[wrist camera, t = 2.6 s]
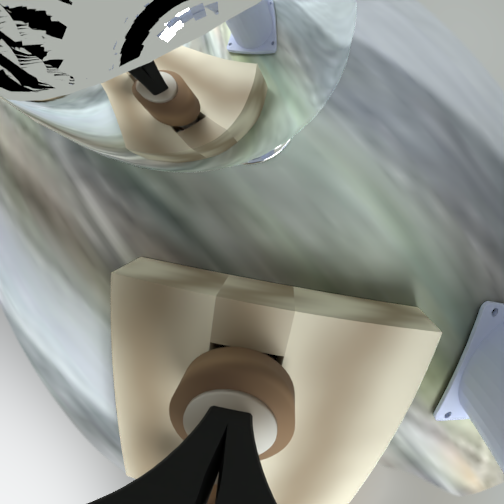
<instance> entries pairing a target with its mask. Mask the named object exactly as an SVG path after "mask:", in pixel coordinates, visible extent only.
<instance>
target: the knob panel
mask: <svg viewBox="0 0 504 504" xmlns="http://www.w3.org/2000/svg"><path fill="white" fill-rule="evenodd" d="M441 335H442V331H441V330H440V329H439V328H438V327H437V326H436V325H435V324H434V323H433V322H432V321H431V320H430V319H429V318H428V317H427V316H426V315H425V314H424V313H423V312H422V311H421V310H420V309H419V308H418V307H414V306H407V305H401V304H394V303H388V302H382V301H376V300H370V299H363V298H357V297H351V296H346V295H340V294H334V293H328V292H322V291H316V290H311V289H305V288H299V287H294V286H288V285H283V284H277V283H272V282H266V281H261V280H256V279H250V278H245V277H240V276H235V275H229V274H224V273H219V272H214V271H209V270H204V269H199V268H194V267H189V266H184V265H179V264H174V263H169V262H164V261H159V260H155V259H150V258H145V257H139V258H138V259H136V260H134V261H132V262H130V263H128V264H126V265H124V266H123V267H121V268H119V269H117V270H115V271H113V272H111V344H112V364H113V378H114V390H115V400H116V410H117V418H118V426H119V433H120V440H121V447H122V453H123V459H124V464H125V470H126V475H127V476H130V477H132V478H135V479H137V478H139V477H141V476H142V475H143V474H145V473H146V472H148V471H149V470H151V469H152V468H153V467H155V466H156V465H157V464H158V463H160V462H161V461H162V460H163V459H164V458H166V457H167V456H168V455H169V454H170V453H171V452H172V451H173V450H174V449H175V448H177V447H178V446H179V445H180V444H181V443H182V442H183V441H184V440H183V439H182V438H181V437H180V436H179V435H178V434H177V432H176V431H175V429H174V427H173V425H172V423H171V420H170V416H169V405H170V401H171V398H172V396H173V394H174V393H175V391H176V389H177V387H178V385H179V383H180V381H181V379H182V377H183V376H184V374H185V372H186V370H187V368H188V366H189V365H190V364H191V363H192V361H193V360H195V359H196V358H197V357H198V356H200V355H201V354H203V353H205V352H207V351H210V350H213V349H216V348H219V344H221V345H226V346H231V347H242V348H248V349H252V350H256V351H258V352H261V353H267V354H273V355H278V357H277V362H278V363H279V364H280V365H281V366H282V367H283V368H284V369H285V370H286V371H287V373H288V374H289V376H290V378H291V380H292V382H293V385H294V391H295V431H294V434H293V437H292V439H291V441H290V442H289V443H288V445H287V446H286V447H285V448H284V449H283V450H281V451H280V452H279V453H277V454H275V455H273V456H271V457H269V458H267V459H263V460H260V462H261V465H262V468H263V472H264V474H265V477H266V480H267V482H268V485H269V487H270V490H271V492H272V494H273V497H274V499H275V501H276V503H277V504H349V502H350V501H351V500H352V498H353V497H354V496H355V494H356V493H357V492H358V490H359V489H360V487H361V486H362V485H363V483H364V482H365V480H366V479H367V477H368V476H369V475H370V473H371V471H372V470H373V469H374V467H375V465H376V464H377V462H378V461H379V459H380V458H381V456H382V454H383V453H384V451H385V450H386V448H387V446H388V445H389V443H390V441H391V440H392V438H393V436H394V434H395V433H396V431H397V429H398V427H399V426H400V424H401V422H402V420H403V418H404V416H405V414H406V413H407V411H408V409H409V407H410V405H411V403H412V401H413V399H414V397H415V395H416V393H417V391H418V389H419V387H420V384H421V382H422V380H423V378H424V376H425V374H426V371H427V369H428V367H429V365H430V362H431V360H432V357H433V355H434V353H435V350H436V348H437V345H438V343H439V340H440V338H441Z"/></svg>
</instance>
